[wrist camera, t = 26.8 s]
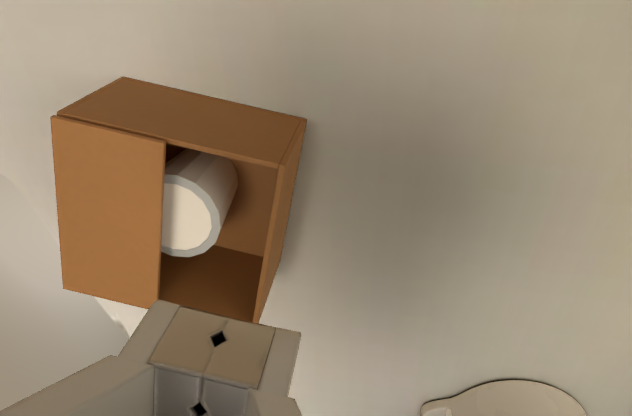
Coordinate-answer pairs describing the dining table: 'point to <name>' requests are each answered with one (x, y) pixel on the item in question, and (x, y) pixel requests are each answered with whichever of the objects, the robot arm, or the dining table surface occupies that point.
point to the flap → (109, 210)
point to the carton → (250, 197)
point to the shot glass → (195, 201)
